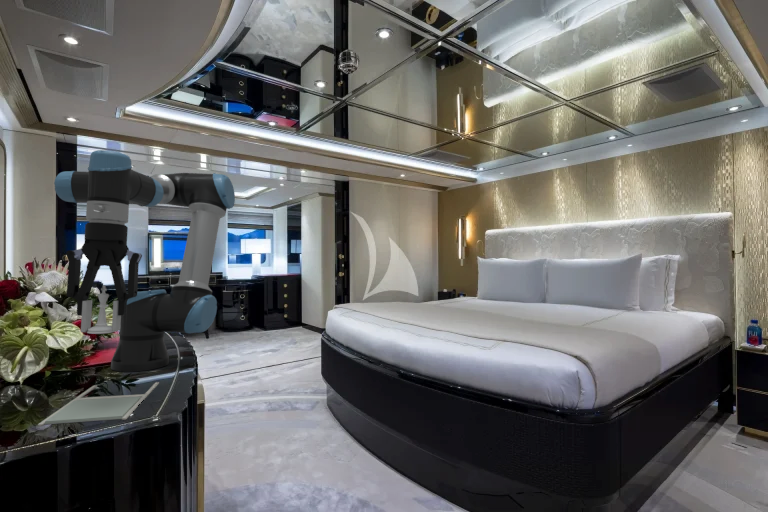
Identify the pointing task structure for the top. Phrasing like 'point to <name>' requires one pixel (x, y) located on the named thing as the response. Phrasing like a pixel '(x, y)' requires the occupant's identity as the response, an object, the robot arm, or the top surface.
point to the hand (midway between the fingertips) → (101, 330)
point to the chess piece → (101, 315)
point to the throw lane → (97, 408)
